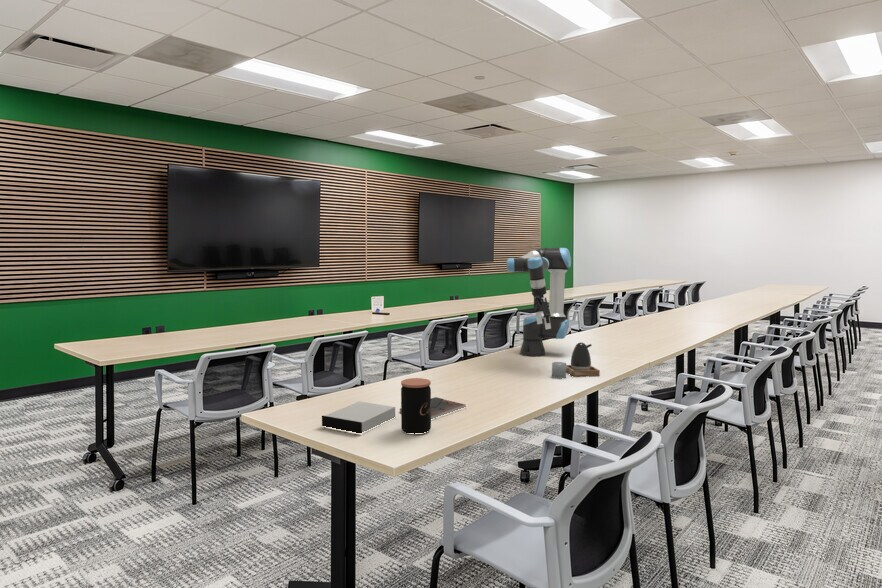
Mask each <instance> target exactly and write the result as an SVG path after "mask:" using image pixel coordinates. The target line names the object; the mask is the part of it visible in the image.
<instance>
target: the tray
mask: <svg viewBox="0 0 882 588" xmlns="http://www.w3.org/2000/svg"><path fill="white" fill-rule="evenodd" d="M600 372H601V371H600V369H598V368H596V367H594V365H593V366H592V365H591V366H590V369H589V370H580V371H574V370H573V369H572V366H571V364H566V374H567V373H568V375H569V374H570V376H571V377H572V376H573V377H572V378H584V377H586V376H589V377H600V375H601V373H600Z"/></svg>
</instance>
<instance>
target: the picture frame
mask: <svg viewBox="0 0 882 588" xmlns="http://www.w3.org/2000/svg"><path fill="white" fill-rule="evenodd" d="M466 406H467V405H466V404H465V403H460V402H457V401H452V400H447V399H444V398H440V397H437V396H434V397H431V419H433V418H436V417H438V416H441V415H444V414H447V413H450V412H453V411H455V410H458V409H461V408H464V407H466ZM466 408H467V407H466ZM400 412H401V407H400V408H399V413H400Z"/></svg>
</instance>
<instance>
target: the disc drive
mask: <svg viewBox="0 0 882 588" xmlns="http://www.w3.org/2000/svg"><path fill="white" fill-rule="evenodd" d="M394 417H395V418H396V406H391V405H384V404H378V403H373V402H364V401H356V402H355V403H352V404H350V405H348V406H344V407H343V408H340V409H338V410H335V411H333V412H330V413H328V414H325V415H321V427H322V426H326V427H332V428H336V429H341V430H346V431H352V432H356V433H362V432H364V431H367V430H369V429H371V428H373V427H375V426H377V425H380V424H381V423H383V422H385V421H388V420H390V419H392V418H394ZM395 418H394V419H395ZM392 420H393V419H392ZM390 421H391V420H390ZM388 422H389V421H388ZM380 426H381V425H380Z"/></svg>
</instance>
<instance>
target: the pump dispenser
mask: <svg viewBox="0 0 882 588" xmlns="http://www.w3.org/2000/svg"><path fill="white" fill-rule="evenodd" d="M592 345H593V344H591V343H590V344H585V343H584V342H578V343H576V345H575V347H574V348H573V351H572V353H571V358H570V365H571V366H572V369H573V370H574V371H580V370H589V369H590V366H592V359H591V355H590V351H589V349H588V348H590V347H592Z"/></svg>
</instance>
